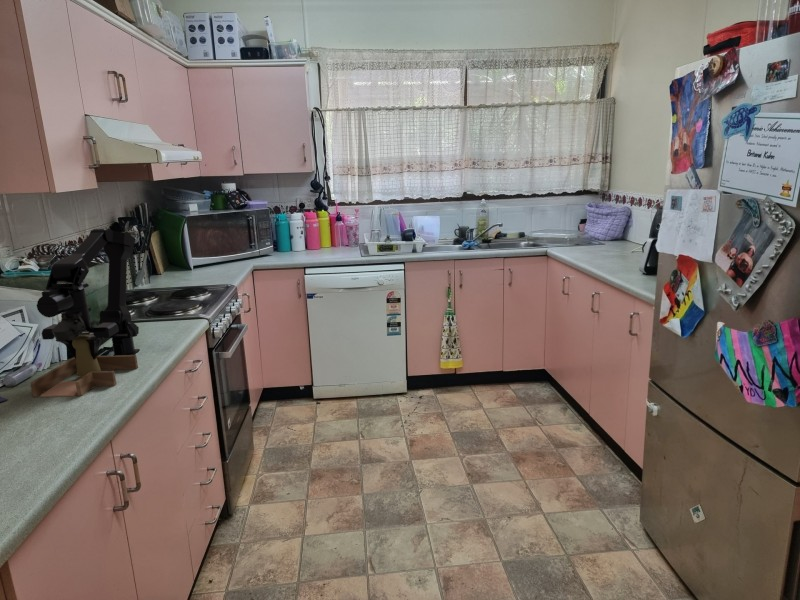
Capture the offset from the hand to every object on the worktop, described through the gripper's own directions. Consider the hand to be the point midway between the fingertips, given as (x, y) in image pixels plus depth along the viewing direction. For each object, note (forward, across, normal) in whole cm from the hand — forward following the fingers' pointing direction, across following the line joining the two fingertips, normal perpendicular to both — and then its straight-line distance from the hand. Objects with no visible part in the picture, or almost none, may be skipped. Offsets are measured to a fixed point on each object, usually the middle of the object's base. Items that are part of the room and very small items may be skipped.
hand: (86, 359), depth 149 cm
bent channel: (+5, +2, -3) cm, 6 cm away
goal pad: (+5, -1, -8) cm, 10 cm away
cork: (+4, 0, 0) cm, 4 cm away
